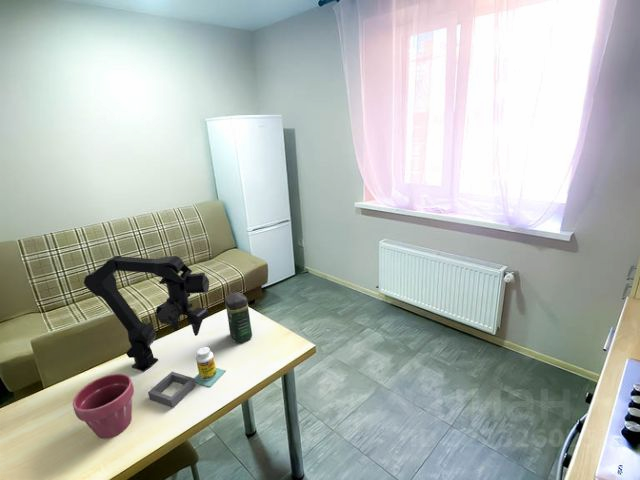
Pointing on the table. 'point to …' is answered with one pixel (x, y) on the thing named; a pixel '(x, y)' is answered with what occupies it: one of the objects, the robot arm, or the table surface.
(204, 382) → the mat
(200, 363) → the supplement bottle
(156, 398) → the socket
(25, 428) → the table surface
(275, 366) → the table surface
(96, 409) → the plant pot
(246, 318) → the coffee jar
